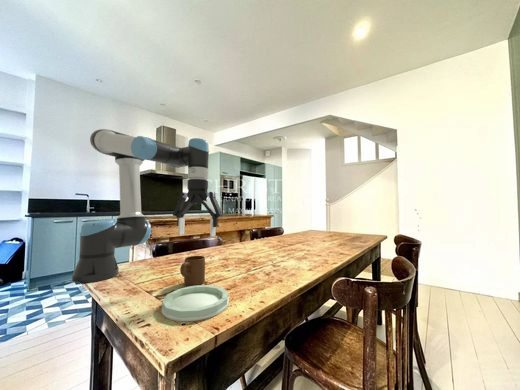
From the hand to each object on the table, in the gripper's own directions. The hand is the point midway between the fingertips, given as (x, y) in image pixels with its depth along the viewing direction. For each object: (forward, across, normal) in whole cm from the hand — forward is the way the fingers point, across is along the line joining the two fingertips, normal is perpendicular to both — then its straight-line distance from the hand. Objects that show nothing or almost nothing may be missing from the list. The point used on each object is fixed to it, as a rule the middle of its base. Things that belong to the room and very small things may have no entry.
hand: (196, 235), depth 80 cm
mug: (+18, -2, -1) cm, 18 cm away
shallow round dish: (+18, +10, -14) cm, 25 cm away
